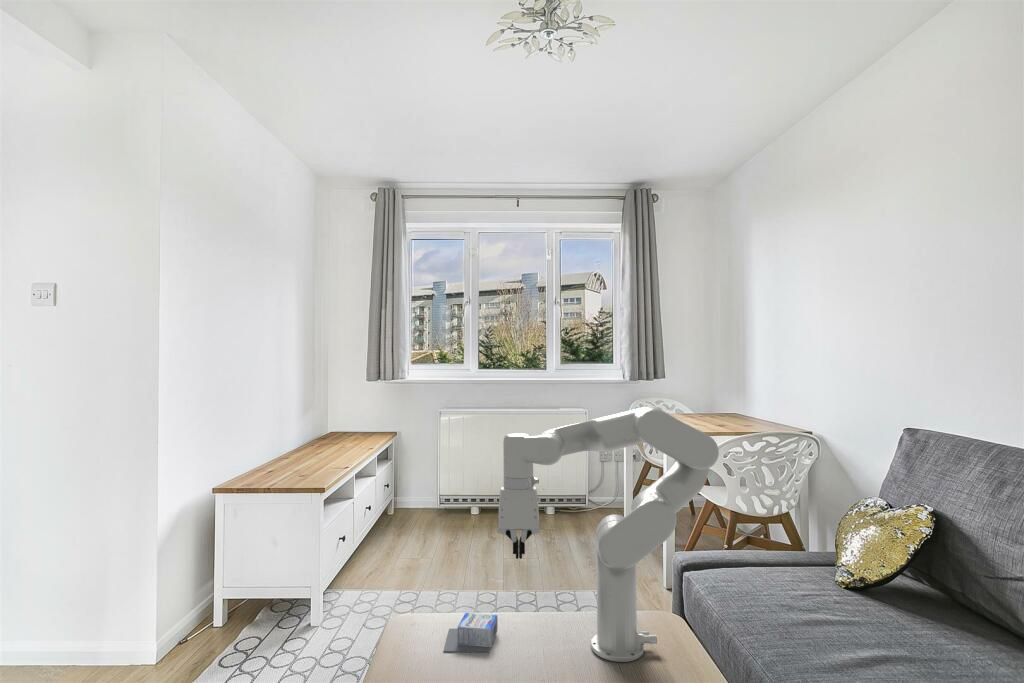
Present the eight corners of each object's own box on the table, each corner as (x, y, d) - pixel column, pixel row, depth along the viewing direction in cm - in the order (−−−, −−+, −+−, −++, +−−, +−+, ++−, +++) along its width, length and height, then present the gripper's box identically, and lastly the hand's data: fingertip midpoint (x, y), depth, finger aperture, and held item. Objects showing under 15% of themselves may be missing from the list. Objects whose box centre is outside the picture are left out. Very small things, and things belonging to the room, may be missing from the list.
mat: (491, 629, 138) (491, 628, 139) (489, 652, 128) (489, 651, 128) (449, 629, 139) (449, 628, 139) (443, 652, 128) (443, 650, 128)
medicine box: (491, 629, 129) (457, 626, 131) (491, 648, 129) (456, 645, 130) (497, 614, 137) (465, 611, 138) (497, 632, 137) (464, 629, 138)
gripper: (547, 479, 138) (547, 551, 137) (489, 479, 138) (489, 551, 137) (548, 486, 131) (549, 562, 130) (488, 486, 131) (488, 562, 130)
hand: (518, 556), depth 134 cm, fingers closed
